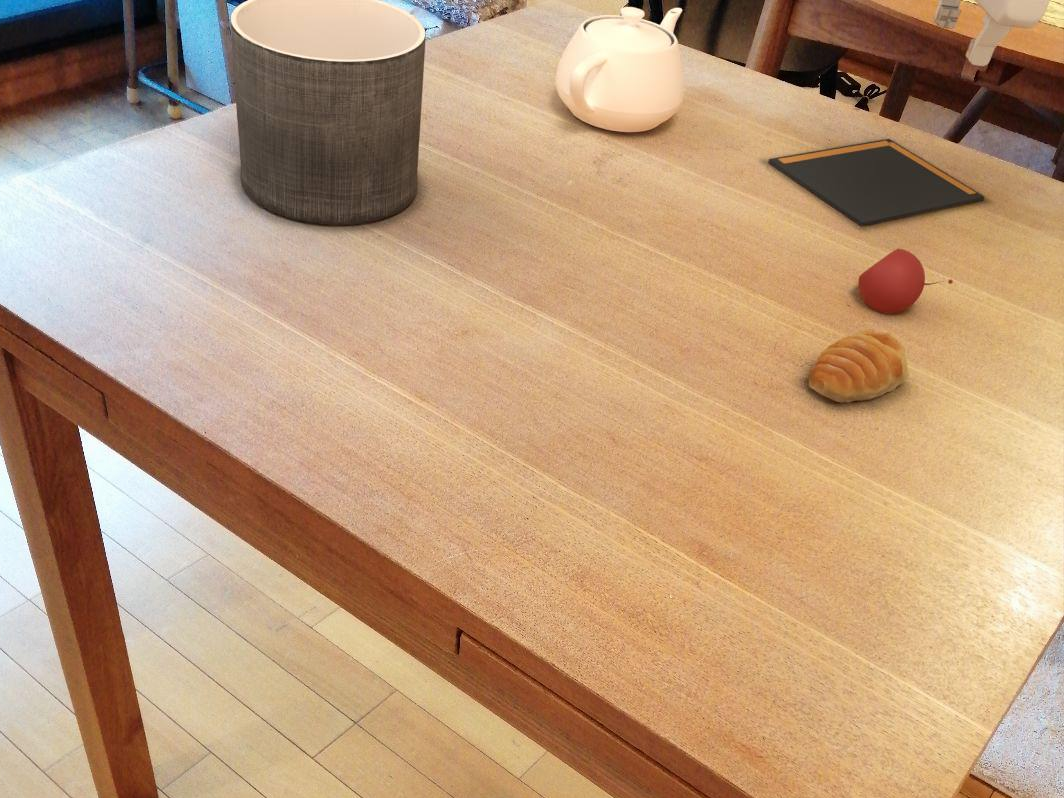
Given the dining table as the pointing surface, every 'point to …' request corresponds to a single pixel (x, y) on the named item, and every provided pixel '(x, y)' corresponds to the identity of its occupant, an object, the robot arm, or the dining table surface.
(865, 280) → the fruit
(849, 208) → the corner mat
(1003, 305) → the dining table surface
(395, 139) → the planter
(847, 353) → the pastry
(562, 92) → the teapot
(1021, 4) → the robot arm
